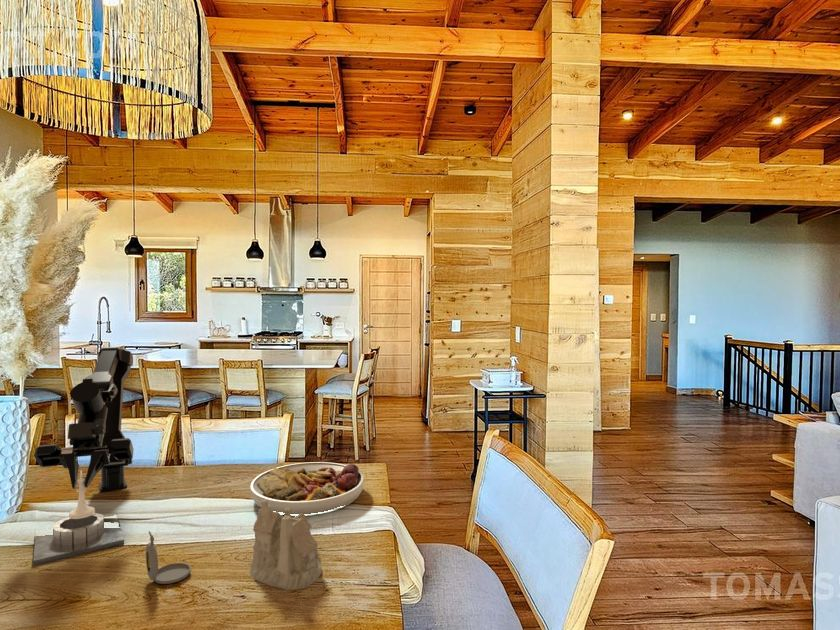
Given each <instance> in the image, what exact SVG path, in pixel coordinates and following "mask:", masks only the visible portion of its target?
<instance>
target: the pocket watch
mask: <svg viewBox="0 0 840 630" xmlns="http://www.w3.org/2000/svg"><path fill="white" fill-rule="evenodd" d="M148 534H149V536H150V537H149V541H150V542H148V543H147V544H146V547H145V565H146V571H147V575H148V578H149V580H152V581H154V582H155V583H157V584H159V585H160V584H161V585H168V584H169V585H170V584H173V583H176V582H180V581H182V580H184V579H185V578H187V577H188V576H189V575H190V574H191V571H192V570H191V566H190V564H188V563H186V562H175V563H169V564H166V565H163V566H161V567H159V559H158V552H157V548H156V547H157V546H156V545H155V543H154V541H155V537H154V535H153V534H152V533H151V531H150V530H149V531H148Z"/></svg>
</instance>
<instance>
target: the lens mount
mask: <svg viewBox="0 0 840 630" xmlns="http://www.w3.org/2000/svg"><path fill="white" fill-rule="evenodd" d="M104 522H111V523H114V522H119V523H120V520H116V519H104V515H103V514H101V513H99V512H95V513H94V514H93V515H91V516H88V517H85V518H80V519H71V518H69V516H67V517H65V518H62V519H60V520H58V521H57V522H55V523H54V524H53V525H52V527H53V535H45V536H35V538H34V548H33V564H32V566H37V565H42V564H45V563H50V562H55V561H58V560H63V559H67V558H71V557H74V556H80V555H83V554H87V553H88V554H89V553H92V552H97V551H100V550H101V551H102V550H105V549H109V548H112V547H113V548H114V547H118V546H121V545H124V544H125V538H124V534H123V531H122V528H104Z"/></svg>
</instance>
